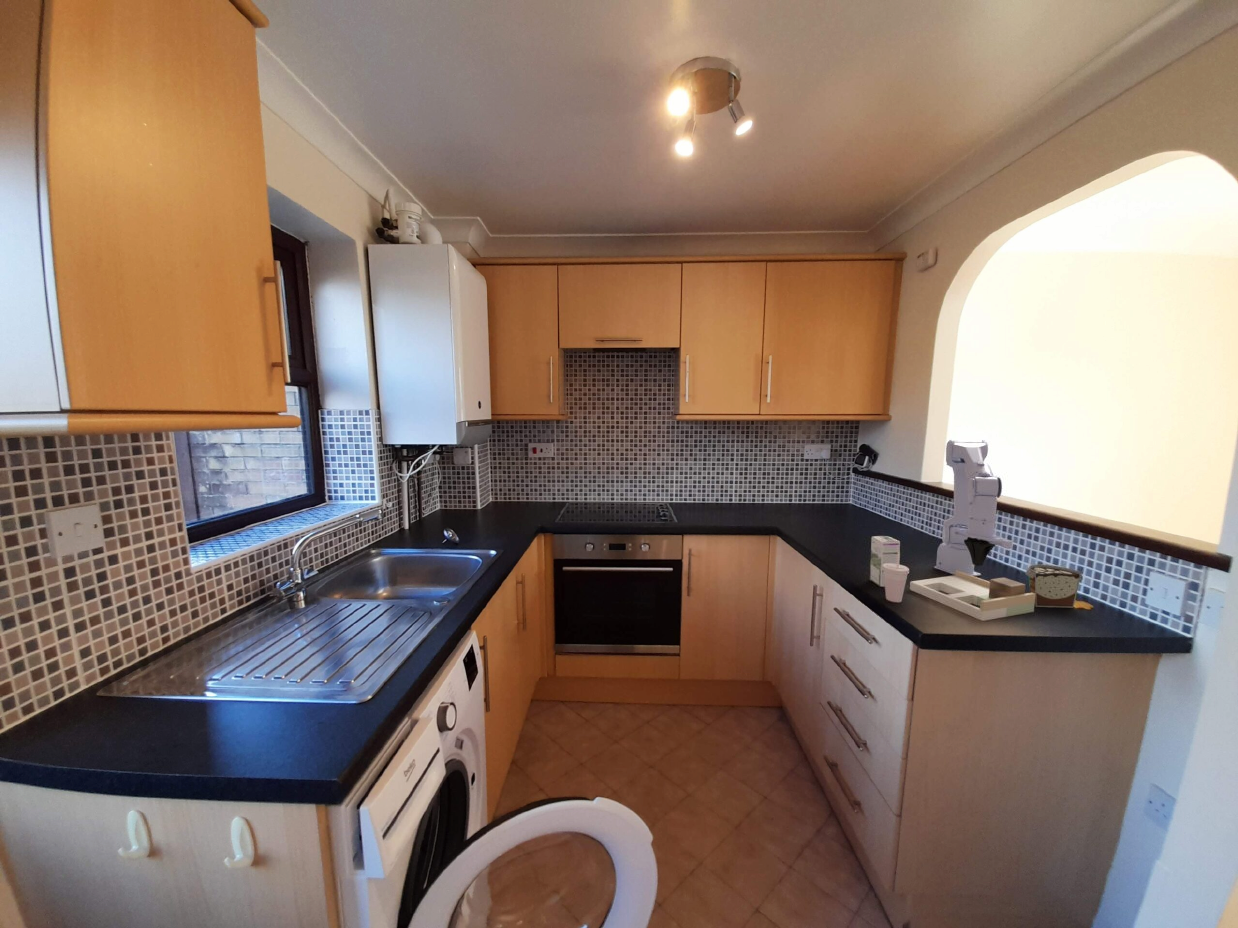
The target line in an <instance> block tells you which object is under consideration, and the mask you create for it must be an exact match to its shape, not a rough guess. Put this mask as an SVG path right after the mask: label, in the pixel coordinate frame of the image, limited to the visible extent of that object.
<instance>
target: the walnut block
mask: <svg viewBox="0 0 1238 928" xmlns="http://www.w3.org/2000/svg"><path fill="white" fill-rule="evenodd" d="M989 582H990V587H989V597H990V598H993V599H995V598H1001V597H1007V596H1014V595H1020V594H1026V584H1025V583H1022V582H1020V581H1016V580H1014V579H1009V578H1007V577H997V578H992V579H990V580H989Z"/></svg>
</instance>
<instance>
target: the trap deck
mask: <svg viewBox="0 0 1238 928" xmlns="http://www.w3.org/2000/svg"><path fill="white" fill-rule="evenodd" d="M989 587H990V580H985V579H983V578H980V577H978V576H971V575H969V574H966V573H963V572H960V571H955V575H948V576H940V577H933V578H932V577H931V578H927V579H920V580H913V581H910V583H909V590H910V591H912V592H914V593H916V594H919V595H922V596H924V597H927V598H929V599H931V600H933V601H936V602H938V603H941V604H942V605H944V606H947V607H949V608H952V609H955V610H956V611H958V612H961V613H964V614H966V615H968V616H971V617H972V618H975V619H977V620H979V621H982V622H984V621H990V620H994V619H996V620H997V619H1001V618H1002V619H1003V618H1006V617H1007V618H1008V617H1012V616H1017V615H1023V614H1028V613H1034V612H1035V606H1034V604H1035V593H1029V592H1027V593H1026V592H1025V594H1020V595H1014V596H1007V597H1001V598H995V599H993V598H990V597H989ZM940 591H941V592H940ZM946 593H947V594H946ZM972 604H974V605H975V606H974V605H972ZM977 606H978V607H977Z"/></svg>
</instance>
